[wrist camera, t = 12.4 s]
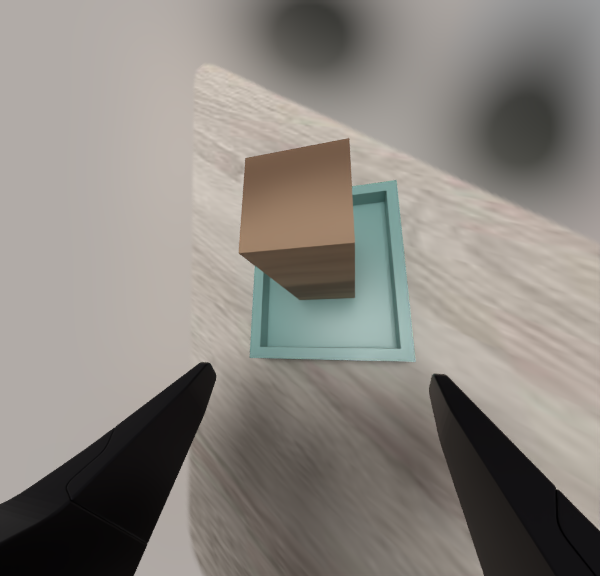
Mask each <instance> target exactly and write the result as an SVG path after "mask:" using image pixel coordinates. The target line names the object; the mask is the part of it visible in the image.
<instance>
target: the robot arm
mask: <svg viewBox="0 0 600 576" xmlns="http://www.w3.org/2000/svg"><path fill="white" fill-rule="evenodd" d="M215 381H216V373H215V371H214V369H213V367H212V365H211V364H210V363H208V362H201V363H199V364H198V365H196V366H195V367H194V368H192V369H191V370H190V371H188V372H187V373H186V374H184V375H183V376H182V377H181V378H179V379H178V380H176V381H175V382H174V383H172V384H171V385H170V386H169V387H167V388H166V389H165V390H164V391H162V392H161V393H159V394H158V395H157V396H155V397H154V398H153V399H151V400H150V401H149V402H147V403H146V404H145V405H143V406H142V407H141V408H139V409H138V410H137V411H136V412H134V413H133V414H132V415H130V416H129V417H128V418H126V419H125V420H124V421H122V422H121V423H120V424H119V425H117V426H116V427H115V428H113V429H112V430H110V431H109V432H108V433H106V434H105V435H104V436H102V437H101V438H100V439H98V440H97V441H96V442H94V443H93V444H91V445H90V446H89V447H87V448H86V449H85V450H83V451H82V452H80V453H79V454H77V455H76V456H75V457H73V458H72V459H70V460H69V461H67V462H66V463H64V464H63V465H62V466H60V467H59V468H57V469H56V470H54V471H53V472H51V473H50V474H48V475H47V476H45V477H44V478H42V479H41V480H40V481H38V482H37V483H35V484H34V485H32V486H31V487H29V488H28V489H26V490H25V491H23V492H22V493H21V494H19V495H17V496H15V497H13V498H12V499H10V500H8V501H6V502H4V503H2V504H0V576H134V574H135V572H136V569H137V567H138V565H139V562H140V560H141V558H142V555H143V553H144V551H145V549H146V546H147V543H148V542H149V539H150V537H151V535H152V532H153V530H154V528H155V526H156V523H157V521H158V519H159V516H160V514H161V512H162V510H163V507H164V505H165V503H166V500H167V498H168V496H169V494H170V491H171V489H172V487H173V485H174V482H175V480H176V478H177V475H178V473H179V471H180V469H181V466H182V464H183V462H184V460H185V457H186V455H187V453H188V450H189V448H190V446H191V444H192V441H193V439H194V437H195V434H196V432H197V430H198V428H199V425H200V423H201V421H202V418H203V416H204V413H205V411H206V408H207V405H208V402H209V399H210V396H211V393H212V390H213V387H214V384H215ZM429 394H430V399H431V403H432V408H433V413H434V417H435V422H436V427H437V431H438V436H439V440H440V443H441V446H442V449H443V453H444V456H445V459H446V462H447V465H448V468H449V471H450V474H451V477H452V480H453V483H454V486H455V489H456V492H457V495H458V498H459V501H460V504H461V507H462V510H463V513H464V516H465V519H466V522H467V525H468V528H469V531H470V534H471V537H472V540H473V543H474V546H475V549H476V552H477V555H478V558H479V561H480V564H481V567H482V571H483V574H484V576H600V531H599V530H598V529H597V528H596V527H595V526H594V525H593V524H592V523H591V522H590V521H589V520H588V519H587V518H586V517H585V516H584V515H583V514H582V513H581V512H580V511H579V510H578V509H577V508H576V507H575V506H574V505H573V504H572V503H571V502H570V501H569V500H568V499H567V498H566V497H565V496H564V495H563V494H562V493H561V491H559V490H557V489H556V487H555V486H554V484H553V483H552V482H551V481H550V480H549V479H548V478H547V477H546V476H545V475H544V474H543V473H542V472H541V471H540V470H539V469H538V468H537V467H536V466H535V465H534V464H533V463H532V462H531V461H530V460H529V459H528V458H527V457H526V456H525V455H524V454H523V453H522V452H521V451H520V450H519V449H518V448H517V447H516V446H515V445H514V444H513V443H512V442H511V441H510V439H509V438H508V437H507V436H506V435H505V434H504V433H503V432H502V431H501V430H500V429H499V428H498V427H497V426H496V425H495V424H494V423H493V422H492V421H491V420H490V419H489V418H488V417H487V416H486V415H485V414H484V413H483V412H482V411H481V410H480V409H479V408H478V407H477V406H476V405H475V404H474V403H473V402H472V401H471V400H470V399H469V398H468V397H467V396H466V395H465V393H464V392H463V391H462V390H461V389H460V388H459V387H458V386H457V385H456V384H455V383H454V382H453V381H452V380H451V379H450V378H449V377H448V376H447V375H444V374H433V375H432V378H431V382H430V387H429Z"/></svg>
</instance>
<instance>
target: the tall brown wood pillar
mask: <svg viewBox="0 0 600 576" xmlns="http://www.w3.org/2000/svg"><path fill="white" fill-rule="evenodd" d="M239 254H240V255H242V256H243V257H244V258H246V259H247V260H248V261H249V262H251V263H252V264H253V265H255V266H256V267H257V268H259V269H260V270H261V271H262V272H264V273H265V274H266V275H268V276H269V277H270V278H272V279H273V280H274V281H275V282H277V283H278V284H279V285H281V286H282V287H283V288H285V289H286V290H287V291H288V292H290V293H291V294H292V295H294V296H295V297H296V298H298V299H299V300H317V299H343V298H355V234H354V216H353V198H352V180H351V162H350V144H349V138H348V139H343V140H337V141H332V142H327V143H322V144H317V145H311V146H306V147H301V148H296V149H291V150H285V151H280V152H275V153H270V154H265V155H260V156H254V157H249V158H246V159H245V173H244V186H243V200H242V214H241V227H240V241H239Z"/></svg>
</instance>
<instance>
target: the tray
mask: <svg viewBox="0 0 600 576" xmlns="http://www.w3.org/2000/svg"><path fill="white" fill-rule="evenodd" d="M352 198H353V216H354V234H355V298H343V299H317V300H299V299H298V298H296V297H295V296H294V295H292V294H291V293H290V292H288V291H287V290H286V289H285V288H283V287H282V286H281V285H279V284H278V283H277V282H275V281H274V280H273V279H272V278H270V277H269V276H268V275H266V274H265V273H264V272H262V271H261V270H260V269H259V268H257V267H256V266H255V272H254V290H253V307H252V325H251V342H250V358H284V359H324V360H365V361H406V362H416V360H415V351H414V341H413V332H412V323H411V313H410V304H409V294H408V285H407V275H406V266H405V257H404V247H403V238H402V228H401V219H400V209H399V200H398V190H397V181H396V180H393V181H387V182H380V183H373V184H366V185H359V186H352Z"/></svg>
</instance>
